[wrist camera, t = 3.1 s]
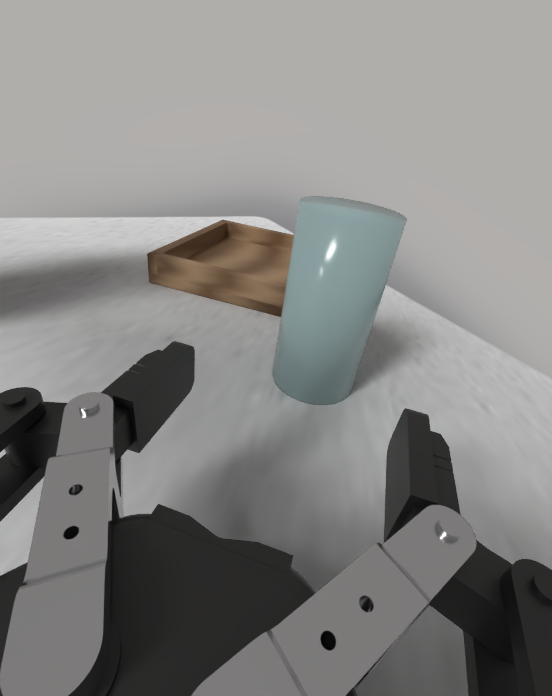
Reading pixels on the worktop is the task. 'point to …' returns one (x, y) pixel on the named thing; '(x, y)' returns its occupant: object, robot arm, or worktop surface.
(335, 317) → the pale blue cylinder
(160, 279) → the tray
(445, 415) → the worktop surface
